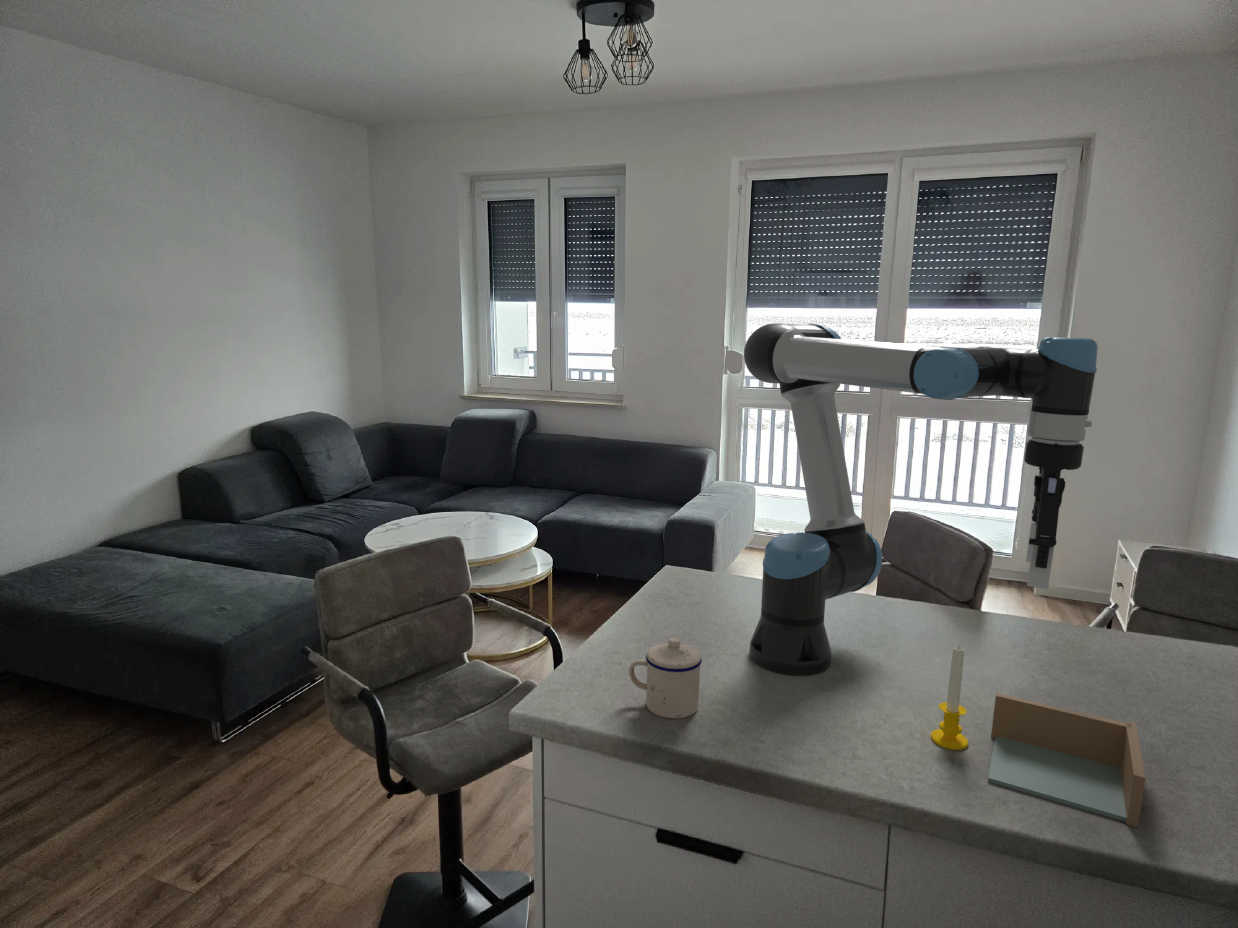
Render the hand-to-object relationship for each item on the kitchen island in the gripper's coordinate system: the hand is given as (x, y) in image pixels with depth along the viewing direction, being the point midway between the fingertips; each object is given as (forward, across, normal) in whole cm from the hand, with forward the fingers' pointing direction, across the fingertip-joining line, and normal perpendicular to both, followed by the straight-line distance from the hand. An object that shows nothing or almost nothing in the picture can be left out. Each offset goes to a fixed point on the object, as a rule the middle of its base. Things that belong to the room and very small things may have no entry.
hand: (1036, 574), depth 116 cm
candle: (+25, -13, +9) cm, 29 cm away
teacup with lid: (+25, -25, +52) cm, 63 cm away
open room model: (+24, -16, -5) cm, 29 cm away
